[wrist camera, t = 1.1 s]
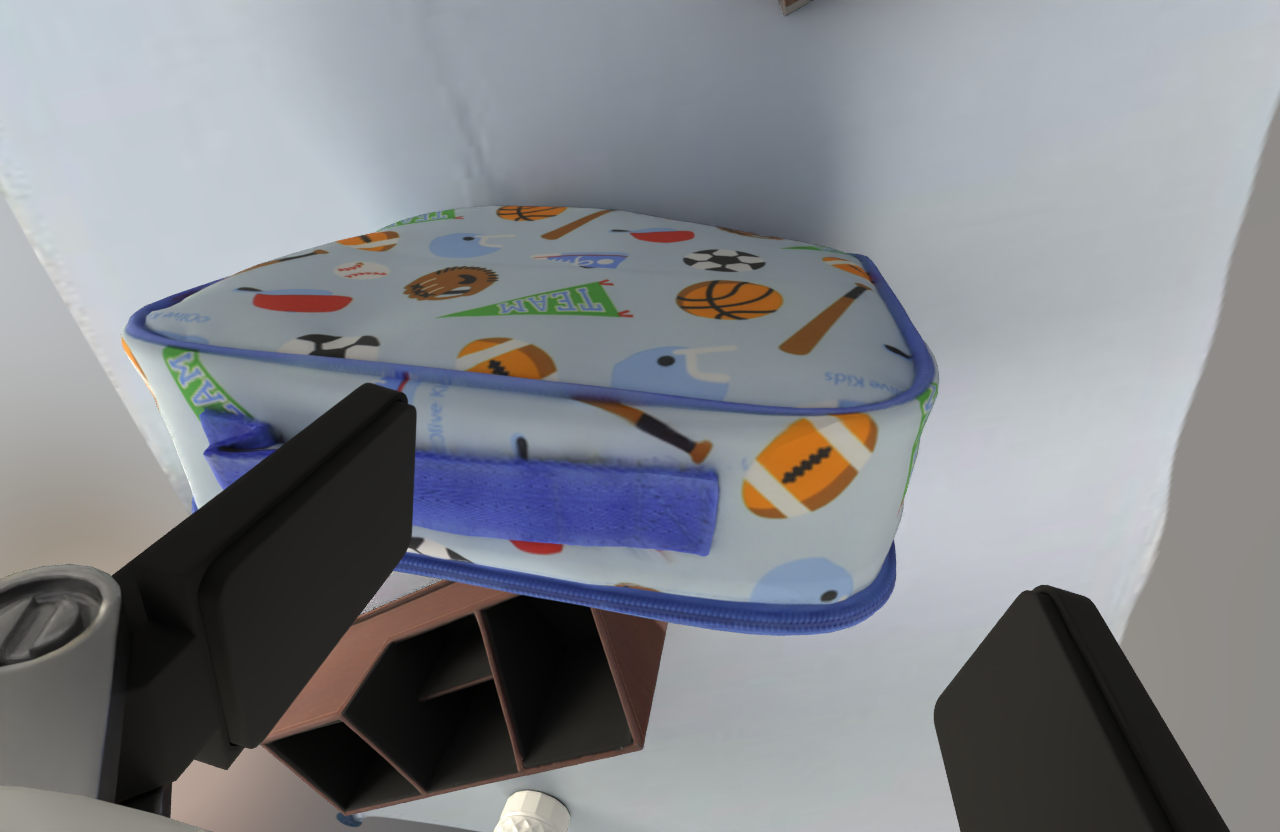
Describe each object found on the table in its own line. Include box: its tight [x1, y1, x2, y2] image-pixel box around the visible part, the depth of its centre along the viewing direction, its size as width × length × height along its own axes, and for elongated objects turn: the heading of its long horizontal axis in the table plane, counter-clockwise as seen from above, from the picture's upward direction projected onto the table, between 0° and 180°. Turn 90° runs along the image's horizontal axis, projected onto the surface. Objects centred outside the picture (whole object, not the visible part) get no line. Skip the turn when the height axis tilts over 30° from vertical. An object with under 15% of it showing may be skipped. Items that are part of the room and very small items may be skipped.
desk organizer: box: [260, 580, 668, 816], centre depth 46 cm, size 10×29×11 cm, turn 124°
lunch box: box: [121, 206, 939, 636], centre depth 26 cm, size 28×10×22 cm, turn 91°
